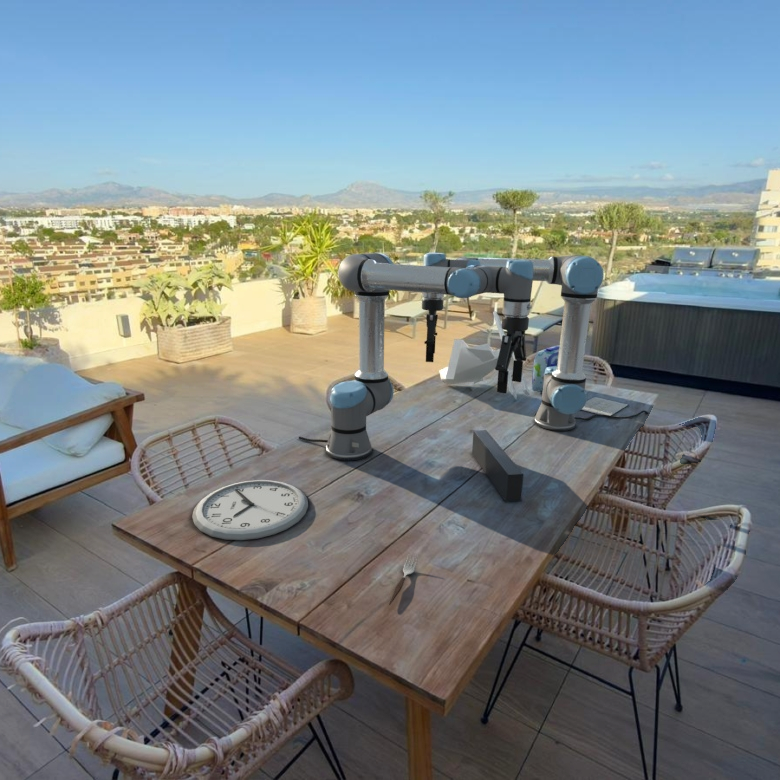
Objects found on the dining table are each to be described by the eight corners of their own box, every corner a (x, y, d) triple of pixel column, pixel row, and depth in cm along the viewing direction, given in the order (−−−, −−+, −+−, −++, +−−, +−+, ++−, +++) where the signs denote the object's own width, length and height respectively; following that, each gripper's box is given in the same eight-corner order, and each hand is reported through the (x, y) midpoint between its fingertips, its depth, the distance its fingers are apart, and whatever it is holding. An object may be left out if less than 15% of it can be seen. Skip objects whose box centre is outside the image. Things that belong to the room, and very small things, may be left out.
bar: (471, 453, 177) (473, 430, 175) (484, 452, 178) (486, 430, 175) (505, 501, 146) (508, 474, 144) (520, 500, 147) (523, 473, 144)
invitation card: (608, 416, 214) (573, 407, 224) (608, 416, 214) (573, 408, 224) (628, 404, 229) (594, 396, 238) (628, 405, 229) (594, 397, 238)
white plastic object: (461, 429, 252) (437, 405, 227) (444, 352, 274) (420, 323, 250) (535, 404, 240) (518, 377, 215) (510, 326, 262) (492, 293, 237)
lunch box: (548, 398, 236) (553, 353, 229) (527, 393, 243) (531, 349, 237) (575, 387, 253) (581, 344, 247) (555, 382, 260) (560, 341, 254)
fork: (383, 605, 105) (383, 597, 105) (407, 560, 120) (408, 552, 119) (395, 608, 104) (395, 600, 104) (418, 562, 119) (419, 555, 118)
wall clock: (304, 532, 127) (176, 536, 124) (304, 538, 127) (177, 542, 125) (311, 475, 155) (207, 478, 153) (311, 480, 156) (208, 483, 153)
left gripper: (514, 323, 137) (507, 399, 144) (540, 311, 158) (533, 379, 164) (487, 320, 141) (482, 395, 147) (516, 309, 162) (510, 375, 168)
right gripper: (424, 293, 195) (422, 349, 202) (419, 302, 172) (417, 365, 178) (444, 294, 195) (441, 350, 201) (442, 303, 171) (439, 366, 177)
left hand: (509, 386), depth 156 cm, fingers open, 13 cm apart
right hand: (430, 357), depth 190 cm, fingers open, 13 cm apart
